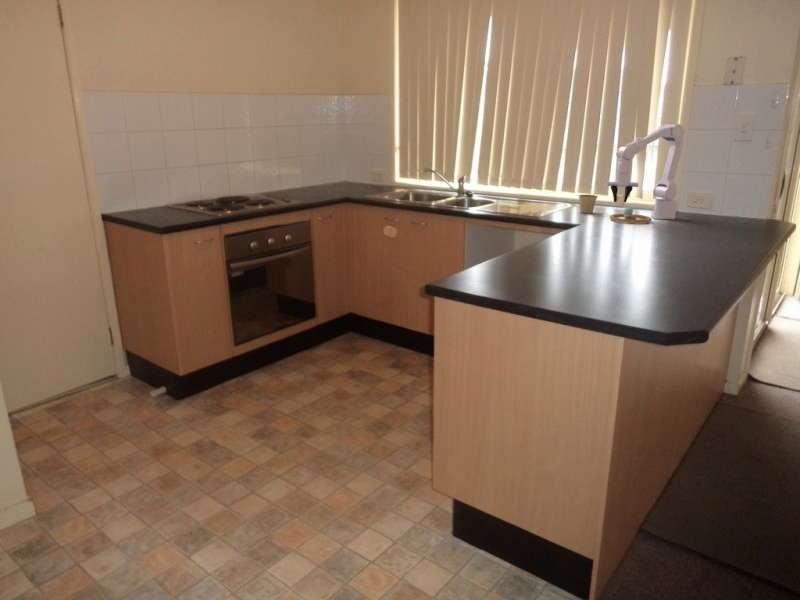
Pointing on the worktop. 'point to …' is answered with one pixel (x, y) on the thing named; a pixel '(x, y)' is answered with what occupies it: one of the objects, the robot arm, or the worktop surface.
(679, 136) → the robot arm
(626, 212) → the bead teal
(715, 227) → the worktop surface
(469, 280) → the worktop surface
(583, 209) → the flower pot
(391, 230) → the pink rounded lump
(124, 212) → the worktop surface
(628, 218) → the ring tray
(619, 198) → the bead cream
